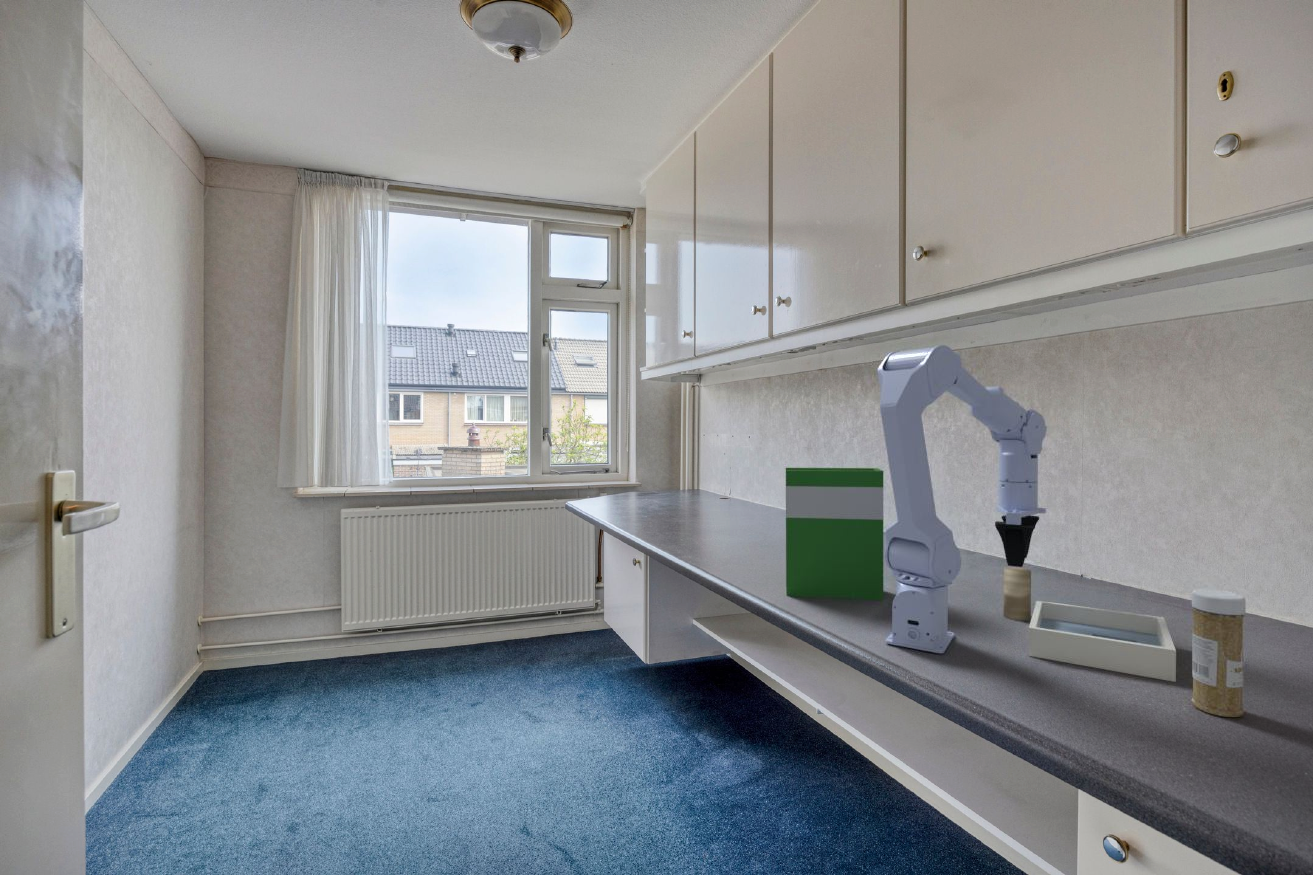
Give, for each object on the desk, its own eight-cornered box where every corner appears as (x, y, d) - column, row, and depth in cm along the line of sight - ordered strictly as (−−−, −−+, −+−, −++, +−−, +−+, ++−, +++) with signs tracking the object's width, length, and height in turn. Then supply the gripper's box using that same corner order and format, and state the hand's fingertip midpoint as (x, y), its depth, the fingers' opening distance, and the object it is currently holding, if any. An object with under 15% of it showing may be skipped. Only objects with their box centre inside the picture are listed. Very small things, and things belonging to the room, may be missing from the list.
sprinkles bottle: (1252, 721, 68) (1254, 600, 68) (1200, 714, 70) (1202, 596, 70) (1231, 703, 73) (1233, 589, 72) (1183, 697, 74) (1184, 585, 74)
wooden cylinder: (1029, 622, 102) (1030, 573, 102) (1002, 617, 105) (1002, 570, 105) (1031, 615, 106) (1032, 568, 106) (1004, 611, 108) (1005, 566, 108)
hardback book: (786, 595, 119) (786, 470, 119) (786, 585, 127) (785, 467, 126) (883, 599, 116) (883, 471, 115) (877, 589, 123) (877, 468, 123)
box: (1175, 681, 79) (1176, 650, 79) (1028, 655, 88) (1028, 627, 88) (1163, 644, 92) (1163, 617, 92) (1036, 624, 101) (1036, 600, 101)
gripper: (1043, 486, 96) (1042, 573, 97) (1048, 478, 108) (1047, 556, 109) (991, 484, 100) (991, 567, 101) (1002, 476, 112) (1001, 551, 113)
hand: (1017, 561), depth 105 cm, fingers open, 7 cm apart
